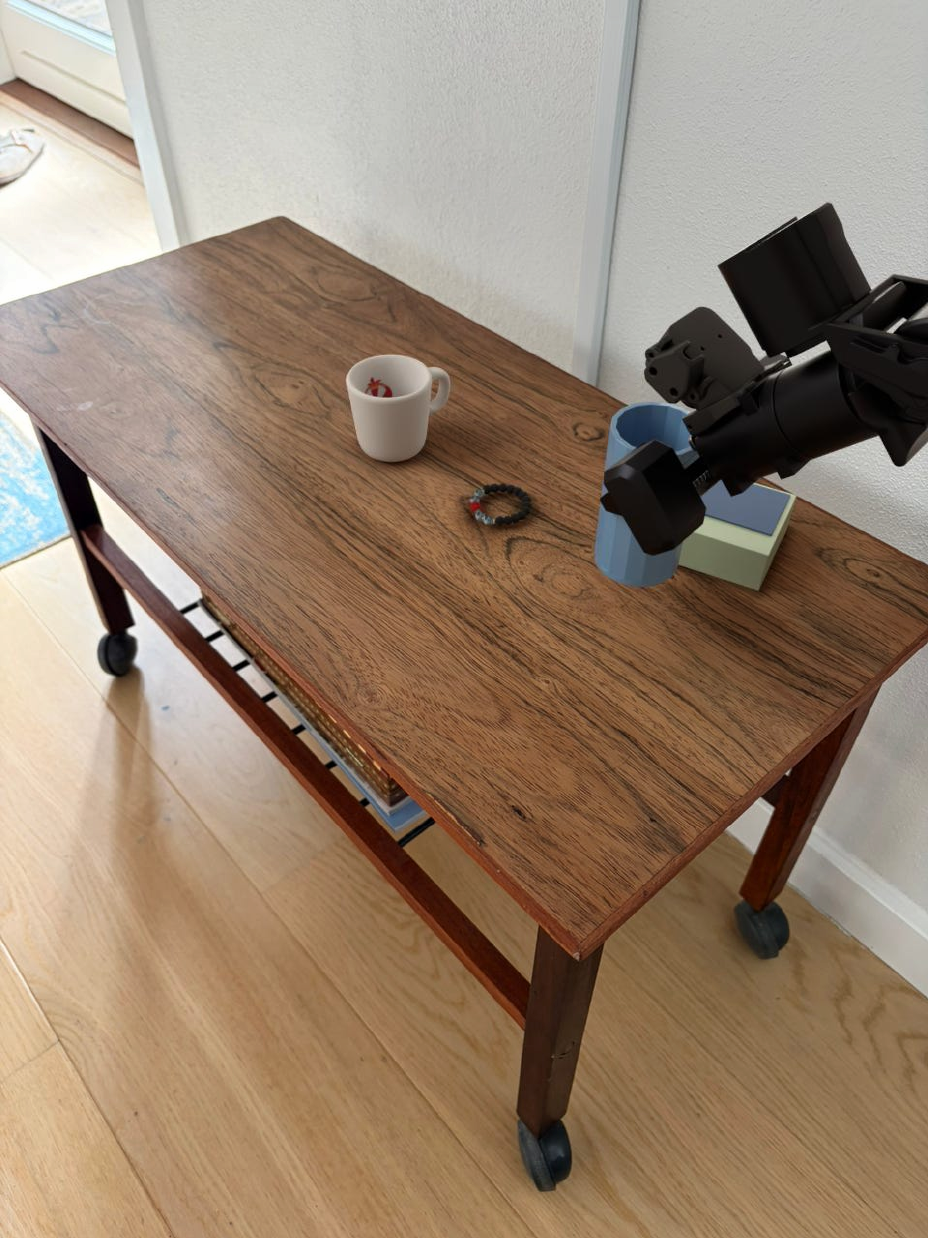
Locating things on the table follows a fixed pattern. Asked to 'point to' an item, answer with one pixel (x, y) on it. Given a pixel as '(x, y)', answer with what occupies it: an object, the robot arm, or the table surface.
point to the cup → (394, 404)
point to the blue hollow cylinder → (614, 537)
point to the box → (739, 534)
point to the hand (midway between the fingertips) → (632, 482)
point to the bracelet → (507, 520)
